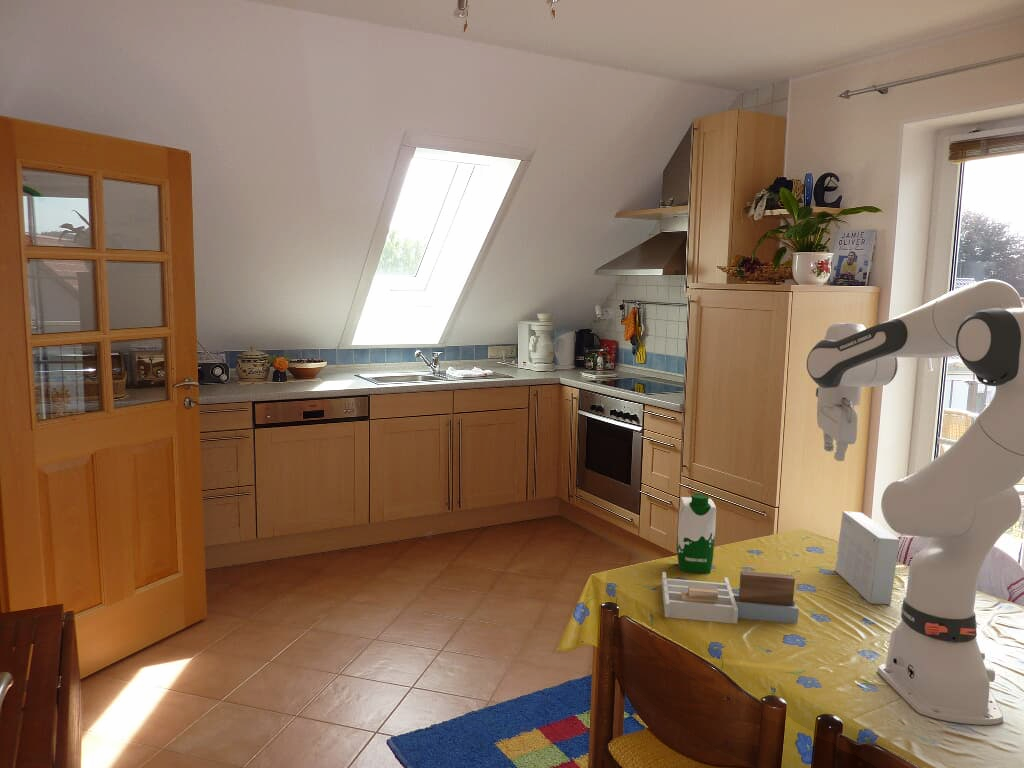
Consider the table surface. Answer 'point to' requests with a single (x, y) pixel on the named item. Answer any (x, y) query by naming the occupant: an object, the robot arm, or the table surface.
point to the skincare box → (867, 557)
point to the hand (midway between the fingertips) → (833, 455)
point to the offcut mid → (686, 598)
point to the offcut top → (703, 592)
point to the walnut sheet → (766, 588)
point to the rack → (698, 611)
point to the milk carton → (696, 534)
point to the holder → (767, 611)
